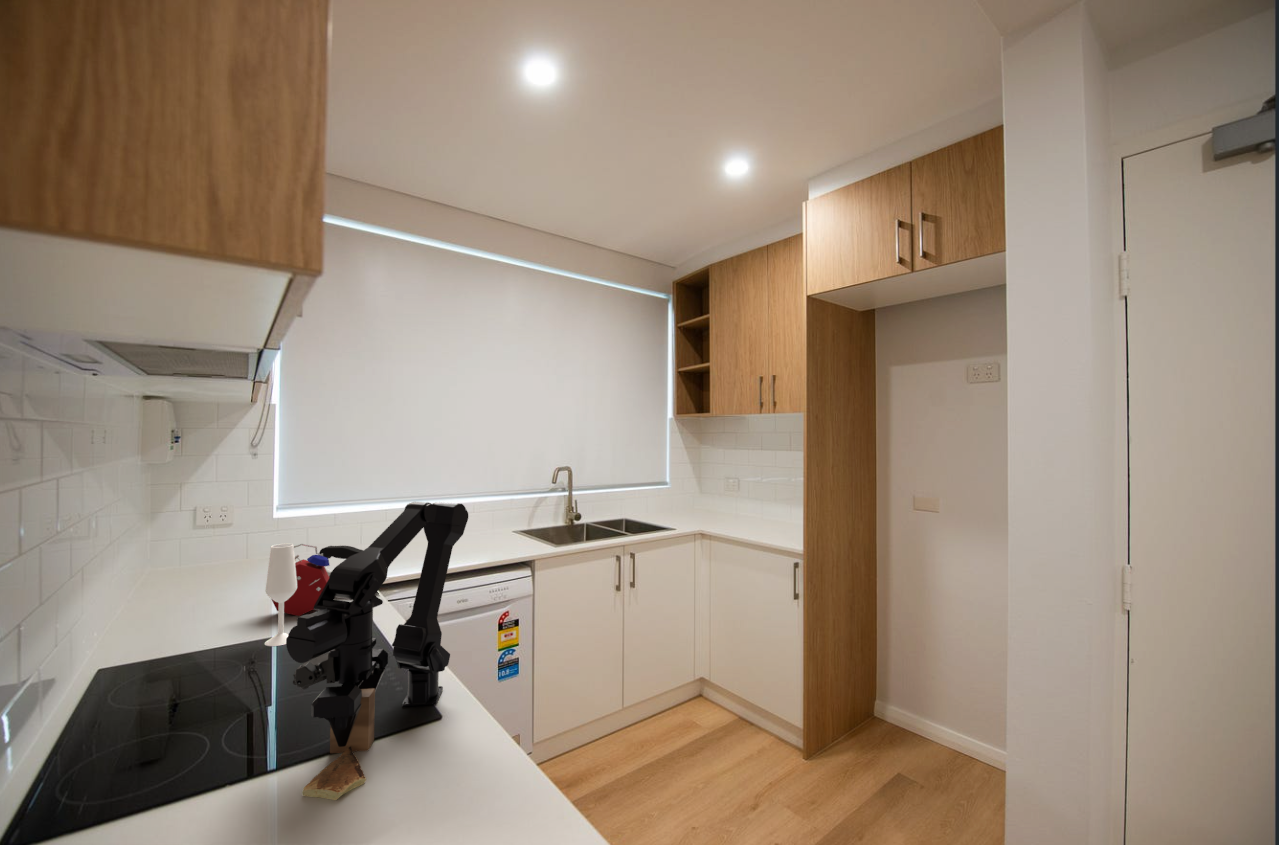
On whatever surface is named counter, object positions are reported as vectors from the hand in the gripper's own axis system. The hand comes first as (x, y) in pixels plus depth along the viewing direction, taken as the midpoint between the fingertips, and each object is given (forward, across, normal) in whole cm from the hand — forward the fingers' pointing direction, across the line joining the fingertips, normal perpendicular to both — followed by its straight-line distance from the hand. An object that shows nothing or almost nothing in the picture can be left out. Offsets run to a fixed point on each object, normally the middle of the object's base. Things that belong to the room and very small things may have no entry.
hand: (352, 730), depth 91 cm
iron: (+3, -90, -33) cm, 96 cm away
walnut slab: (+3, 0, 0) cm, 3 cm away
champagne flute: (+3, -50, -34) cm, 61 cm away
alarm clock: (+3, -70, -38) cm, 80 cm away
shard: (+4, +9, 0) cm, 9 cm away
